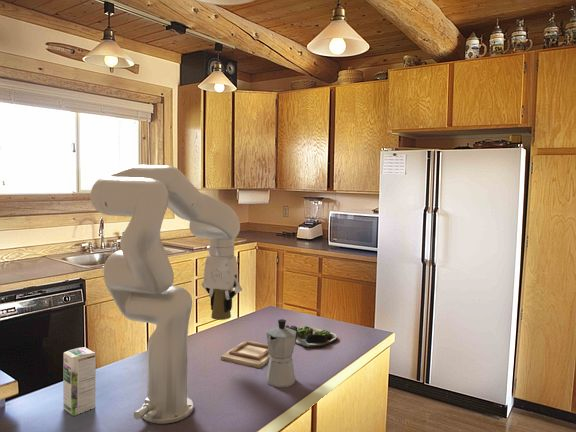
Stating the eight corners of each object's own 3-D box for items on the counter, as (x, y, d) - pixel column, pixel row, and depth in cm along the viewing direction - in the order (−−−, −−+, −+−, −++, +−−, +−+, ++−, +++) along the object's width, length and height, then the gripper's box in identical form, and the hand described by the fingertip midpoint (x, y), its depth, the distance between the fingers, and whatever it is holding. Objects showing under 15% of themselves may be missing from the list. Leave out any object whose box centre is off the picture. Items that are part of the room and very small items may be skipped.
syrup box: (62, 408, 112) (61, 352, 111) (85, 400, 116) (85, 345, 115) (73, 417, 108) (72, 358, 107) (96, 407, 113) (96, 351, 112)
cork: (227, 320, 136) (227, 284, 135) (208, 318, 138) (208, 283, 136) (233, 314, 142) (233, 280, 141) (215, 313, 143) (215, 279, 142)
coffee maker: (281, 393, 123) (283, 329, 121) (255, 385, 127) (256, 322, 126) (308, 374, 136) (309, 315, 134) (283, 367, 140) (284, 310, 139)
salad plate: (271, 338, 166) (272, 326, 165) (303, 327, 179) (303, 316, 179) (312, 353, 153) (312, 340, 152) (343, 340, 166) (343, 328, 165)
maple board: (259, 368, 139) (259, 361, 139) (220, 359, 145) (220, 353, 144) (281, 350, 153) (281, 345, 153) (246, 343, 159) (246, 338, 159)
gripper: (191, 250, 138) (191, 309, 140) (239, 256, 131) (238, 317, 133) (205, 247, 145) (205, 303, 147) (251, 252, 138) (250, 310, 140)
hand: (221, 309), depth 140 cm, fingers closed on cork, 4 cm apart
